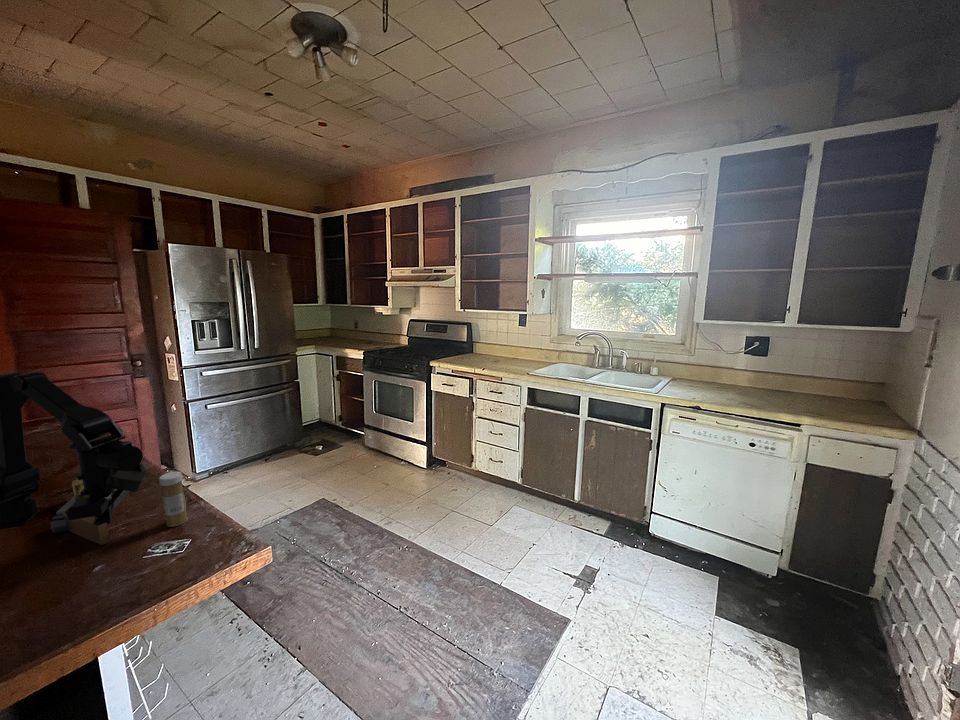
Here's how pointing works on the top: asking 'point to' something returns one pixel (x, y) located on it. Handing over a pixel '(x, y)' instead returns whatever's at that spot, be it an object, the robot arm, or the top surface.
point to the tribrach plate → (78, 488)
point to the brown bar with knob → (81, 527)
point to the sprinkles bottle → (173, 498)
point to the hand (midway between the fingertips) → (108, 523)
